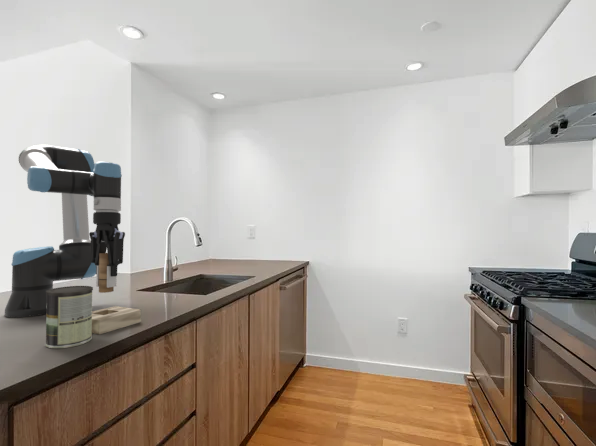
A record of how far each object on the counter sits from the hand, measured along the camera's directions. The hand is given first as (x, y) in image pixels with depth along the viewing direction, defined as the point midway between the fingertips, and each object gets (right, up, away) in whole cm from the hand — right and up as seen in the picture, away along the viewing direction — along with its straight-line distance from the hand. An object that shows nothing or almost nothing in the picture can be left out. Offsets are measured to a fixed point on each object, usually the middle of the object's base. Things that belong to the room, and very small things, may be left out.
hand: (106, 286), depth 104 cm
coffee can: (-1, -12, -16) cm, 20 cm away
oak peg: (0, -2, 0) cm, 2 cm away
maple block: (+1, -12, -1) cm, 12 cm away
